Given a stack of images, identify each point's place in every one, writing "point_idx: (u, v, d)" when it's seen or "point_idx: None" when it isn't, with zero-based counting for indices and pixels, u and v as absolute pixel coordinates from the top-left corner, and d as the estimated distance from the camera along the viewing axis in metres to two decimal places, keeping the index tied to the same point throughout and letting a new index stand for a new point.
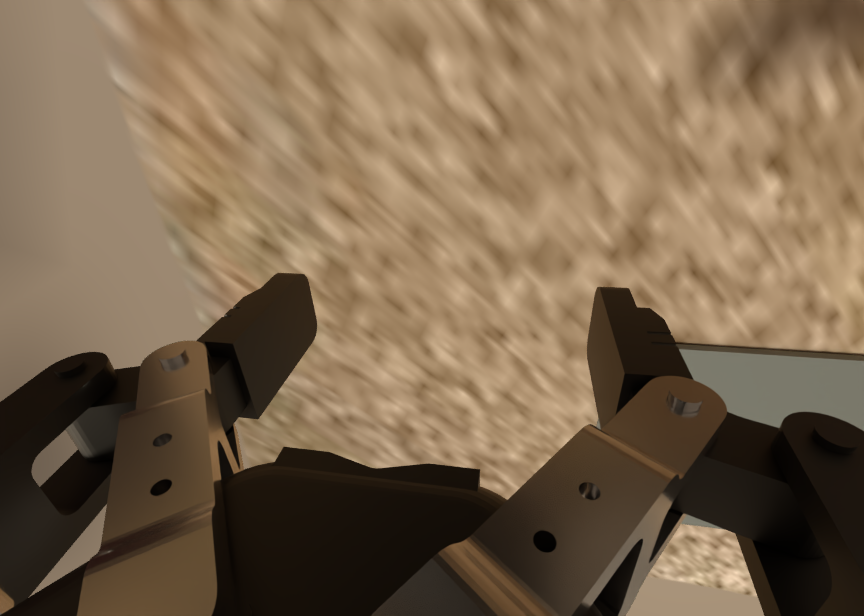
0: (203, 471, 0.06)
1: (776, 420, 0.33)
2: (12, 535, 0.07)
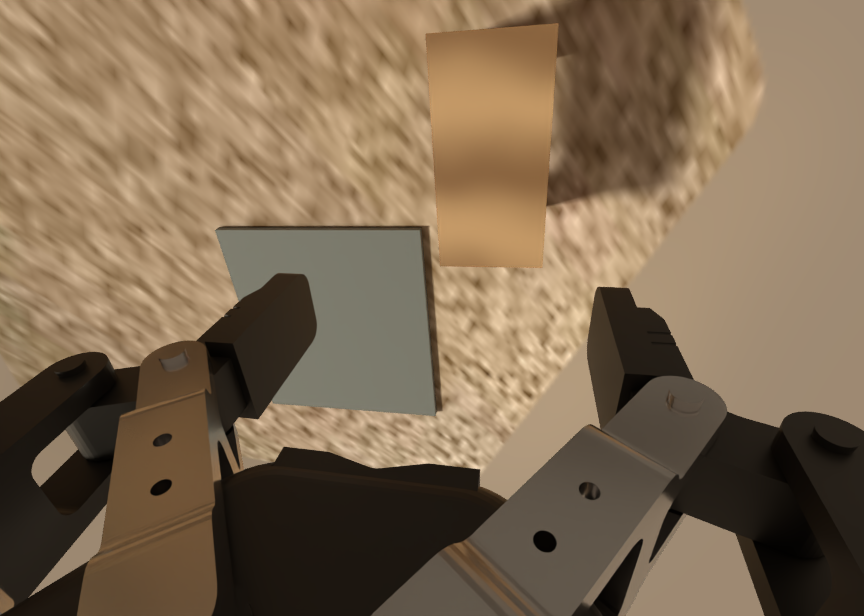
0: (203, 471, 0.06)
1: (360, 294, 0.39)
2: (12, 535, 0.07)
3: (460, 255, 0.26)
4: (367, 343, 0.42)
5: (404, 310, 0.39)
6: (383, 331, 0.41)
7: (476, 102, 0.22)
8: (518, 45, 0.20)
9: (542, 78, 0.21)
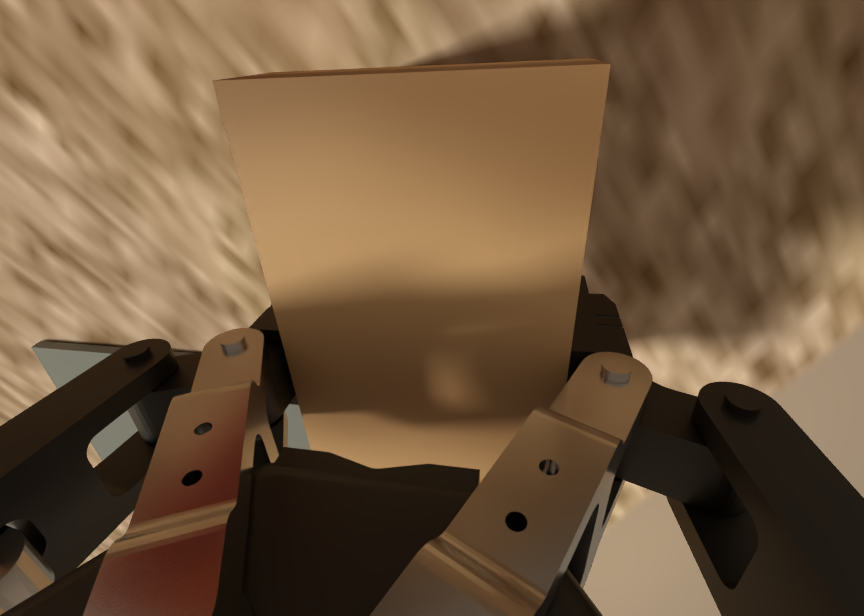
0: (232, 468, 0.06)
1: None
2: (63, 511, 0.07)
3: None
4: None
5: None
6: None
7: (374, 260, 0.08)
8: (482, 125, 0.07)
9: (552, 217, 0.07)
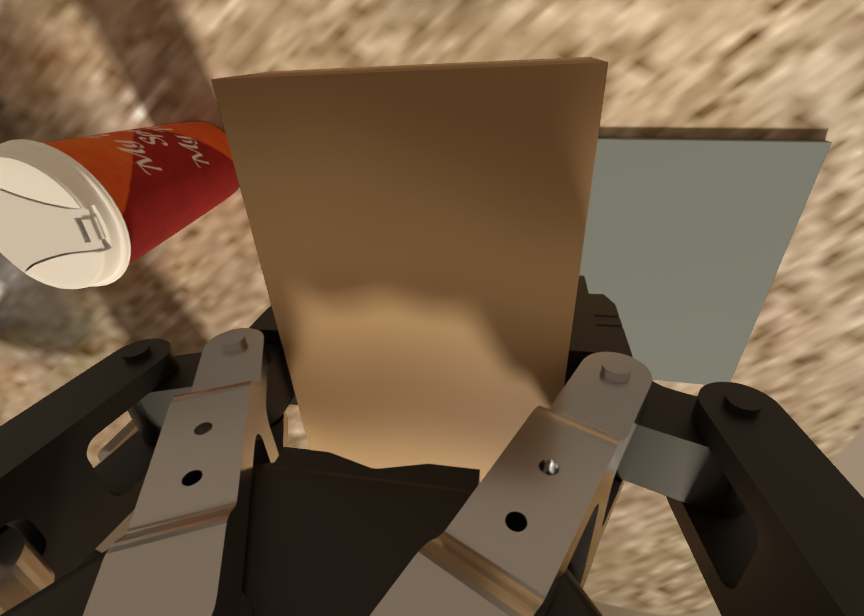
0: (232, 468, 0.06)
1: None
2: (63, 511, 0.07)
3: None
4: (643, 234, 0.30)
5: (593, 172, 0.28)
6: (626, 208, 0.29)
7: (373, 258, 0.08)
8: (480, 123, 0.07)
9: (549, 215, 0.07)
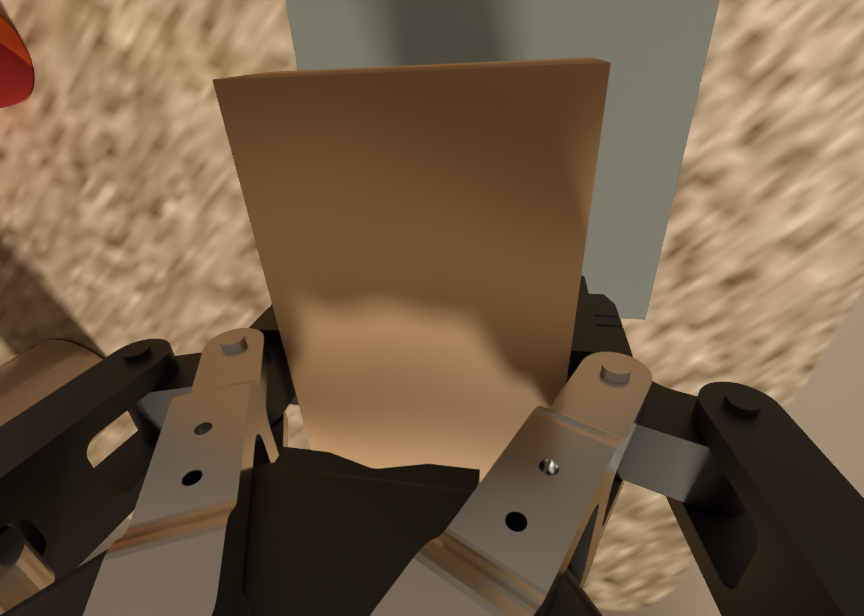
0: (232, 468, 0.06)
1: None
2: (63, 511, 0.07)
3: None
4: None
5: (434, 27, 0.22)
6: None
7: (374, 259, 0.08)
8: (482, 124, 0.07)
9: (552, 216, 0.07)
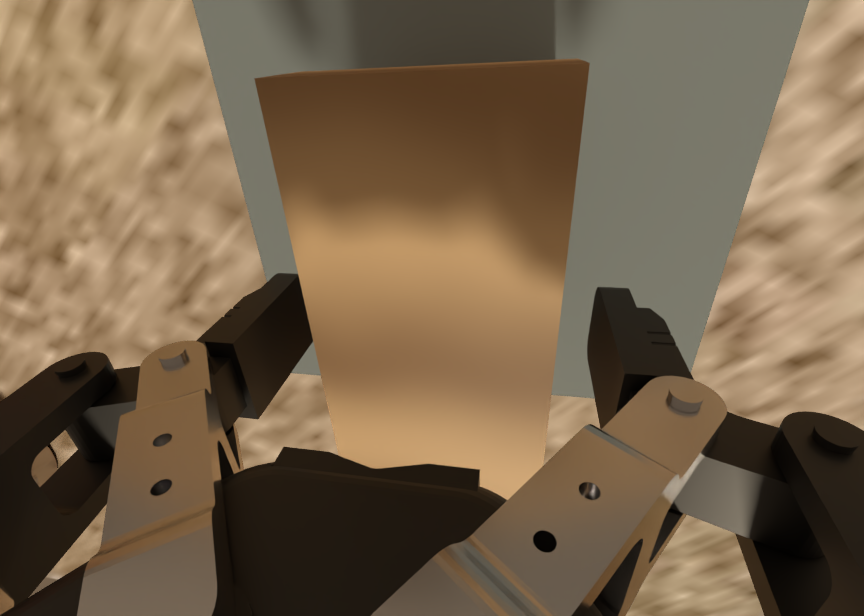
0: (203, 471, 0.06)
1: None
2: (12, 535, 0.07)
3: None
4: None
5: (395, 24, 0.15)
6: None
7: (389, 234, 0.09)
8: (483, 115, 0.08)
9: (542, 194, 0.08)
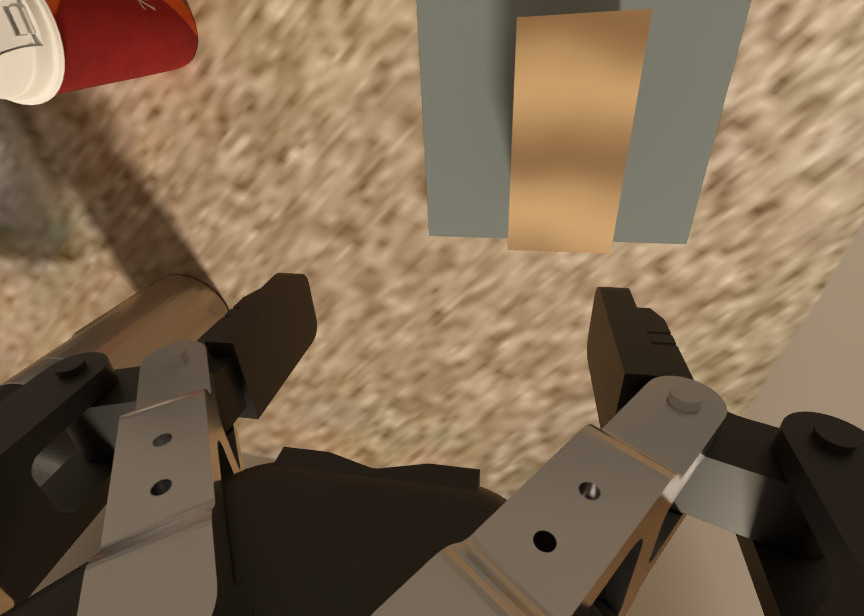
0: (203, 471, 0.06)
1: (506, 70, 0.30)
2: (12, 535, 0.07)
3: (529, 239, 0.27)
4: None
5: (531, 1, 0.28)
6: None
7: (561, 86, 0.22)
8: (609, 30, 0.21)
9: (630, 64, 0.21)
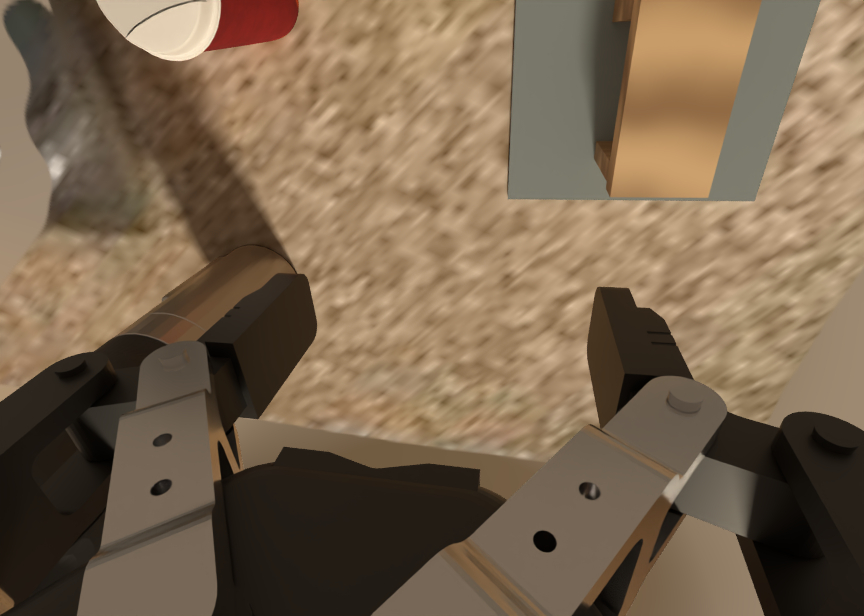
0: (203, 471, 0.06)
1: (596, 37, 0.33)
2: (12, 535, 0.07)
3: (631, 186, 0.29)
4: None
5: None
6: None
7: (678, 39, 0.25)
8: None
9: (745, 16, 0.24)
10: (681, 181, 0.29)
